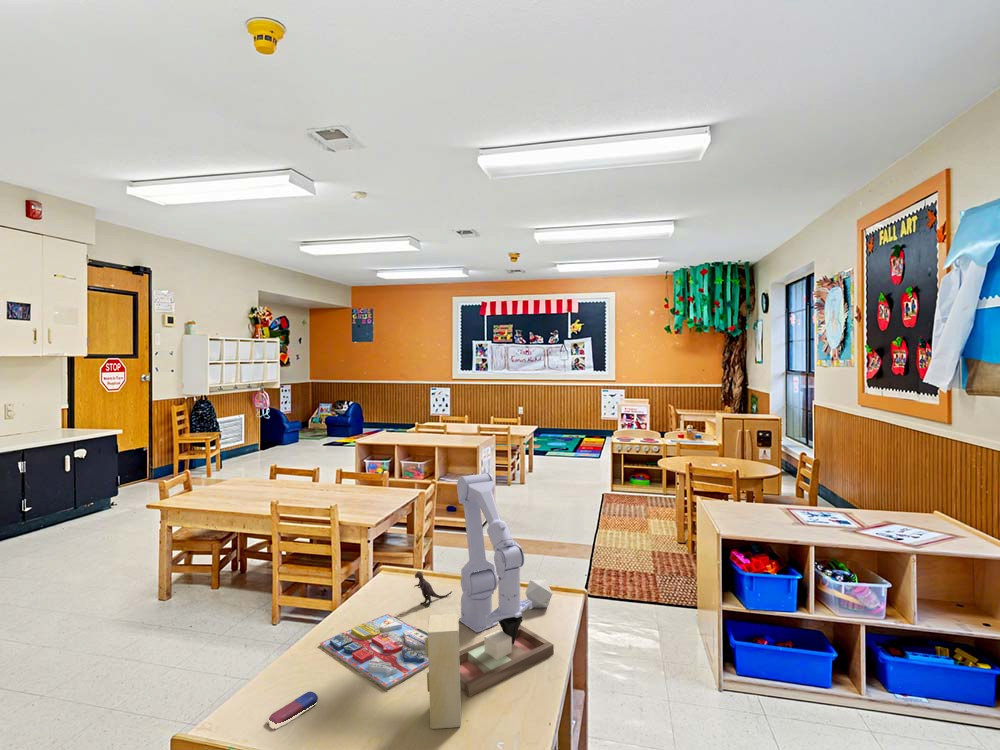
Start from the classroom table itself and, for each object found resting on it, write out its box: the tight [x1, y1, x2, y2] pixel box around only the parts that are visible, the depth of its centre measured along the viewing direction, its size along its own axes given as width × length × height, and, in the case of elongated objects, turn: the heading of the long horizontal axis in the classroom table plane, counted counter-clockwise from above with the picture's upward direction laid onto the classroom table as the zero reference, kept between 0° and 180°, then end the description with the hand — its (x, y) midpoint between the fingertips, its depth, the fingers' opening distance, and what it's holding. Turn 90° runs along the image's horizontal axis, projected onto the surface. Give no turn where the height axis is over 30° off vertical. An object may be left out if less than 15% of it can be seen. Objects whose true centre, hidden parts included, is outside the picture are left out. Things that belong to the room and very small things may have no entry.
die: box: [524, 579, 553, 609], centre depth 167 cm, size 8×9×10 cm
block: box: [483, 629, 512, 660], centre depth 137 cm, size 5×5×4 cm
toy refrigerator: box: [425, 613, 462, 730], centre depth 116 cm, size 8×7×21 cm
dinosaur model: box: [414, 570, 453, 608], centre depth 170 cm, size 4×11×14 cm
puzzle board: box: [319, 613, 429, 691], centre depth 144 cm, size 30×23×3 cm
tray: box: [459, 624, 555, 698], centre depth 136 cm, size 14×28×2 cm, turn 129°
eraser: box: [268, 691, 319, 724], centre depth 118 cm, size 11×4×2 cm, turn 144°
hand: (509, 643), depth 139 cm, fingers closed
